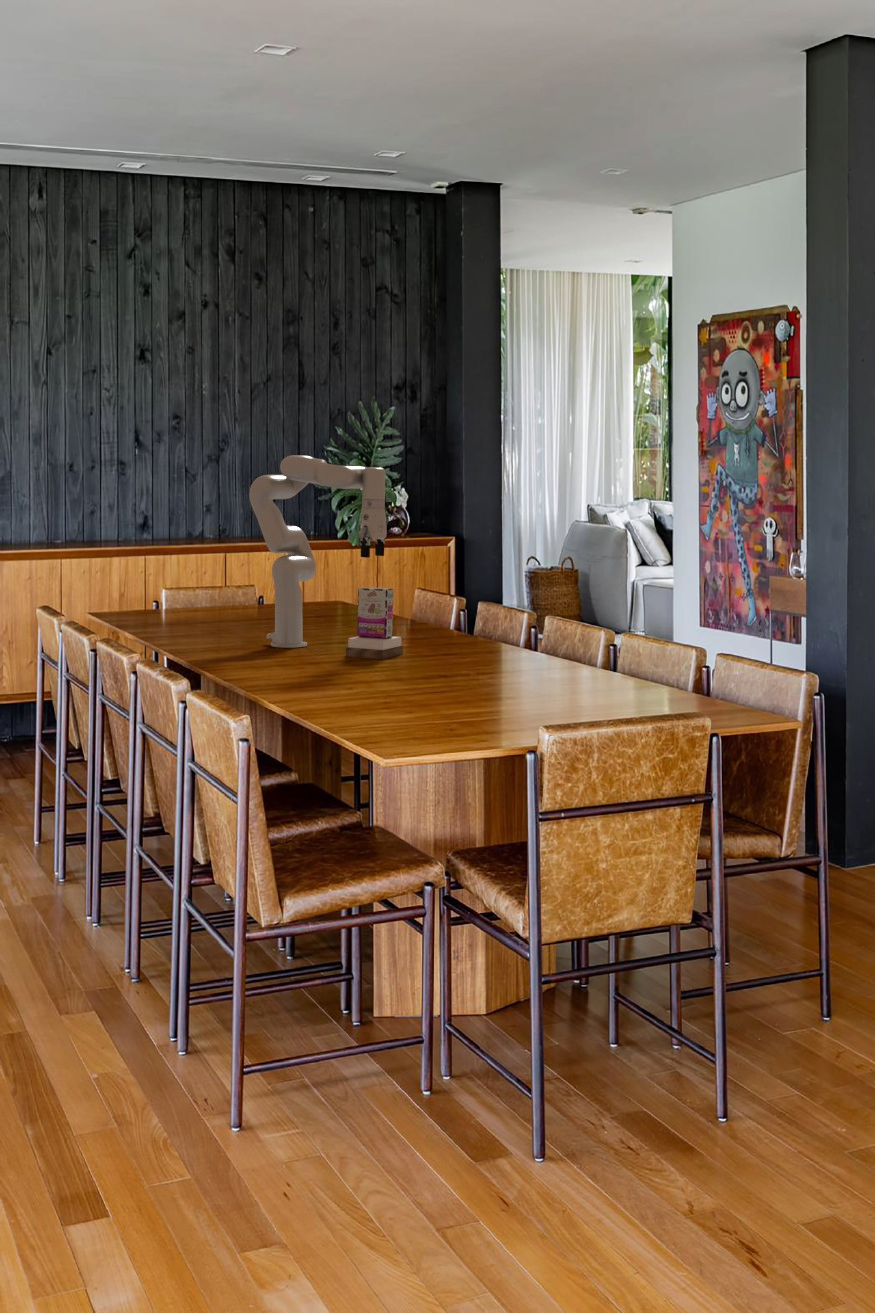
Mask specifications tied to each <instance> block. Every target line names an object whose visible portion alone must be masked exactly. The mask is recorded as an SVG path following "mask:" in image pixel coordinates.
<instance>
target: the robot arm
mask: <svg viewBox="0 0 875 1313" xmlns="http://www.w3.org/2000/svg"><path fill="white" fill-rule="evenodd" d="M279 469H280V472H281V474H264V475H263V474H262V475H261V476H259V477H257V478H256V479H254V481H253V482H252V483H251V485H250V488H249V502H250V505H251V508H252V511H253V512H254V514H255V517H256V519H257V522H258V525H259V527H260V530H261V534H262V536H263V539H264V542H265V543H266V547H267V549H268V550H269V551H270V552H271V553H273V554H285V555H281V556H280V557H277V558H276V559H275V560H274V562H273V563H272V566H271V574H272V575H271V576H272V580H273V586H274V620H275V621H274V632H271V633H267V634H266V637H265V638H266V639H267V640H272V641H271V642H270V646H271V647H273V648H281V649H283V648H284V649H286V648H287V649H292V648H293V649H297V648H304V647H305V648H306V647H307V646H308V642H307V641H303V634H304V633H303V628H304V627H303V592H302V588H301V585H300V582H308V581H310V580H312V579H313V578H314V577H315V575H316V572H317V563H316V560H315V557H314V554H313V551H312V548H311V546H310V543H309V540H308V538H307V536H306V534H305V532H304V530H302V528H300V527H298V526H296V525H287V524H286V522H285V520H284V517H283V514H282V512H281V509H280V508H279V507H278V506H277V504H276V503H275V502H274V500H287V499H291V498H293V497H295V496H296V495H297V494H298V493H300V491H302V490H303V489H304V488H306V486H307V485H308V484H315V485H318V486H324V487H329V488H335V489H342V490H362V492H361V493H362V497H361V498H362V499H361V500H362V501H361V509H362V511H361V512H362V513H361V519H360V520H361V521H360V530H359V531H358V534H357V535H358V537H359V538H358V541H359V545H360V558H364V559H365V558H367V559H369V558H370V557H371V545H370V543H371V540H375V546H374V551H375V552H374V556H376V557H377V556H378V557H384V556H385V544H386V539H387V534H388V530H387V515H386V509H385V508H386V507H385V506H386V505H385V504H386V470H385V468H383V467H374V466H372V467H370V466H369V467H367V466H361V465H338V464H332V463H331V464H330V463H327V461H326V460H324V459H322V458H315V457H312V456H310V455H302V454H301V455H300V454H299V455H297V454H295V455H293V454H291V455H287V456H286V457H284V458H283V459H282V461H281V462H280V466H279ZM286 554H287V555H286Z"/></svg>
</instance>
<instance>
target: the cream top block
mask: <svg viewBox="0 0 875 1313" xmlns="http://www.w3.org/2000/svg"><path fill="white" fill-rule="evenodd" d="M347 639H348V644H347V645H348V646H347V647H350V648H363V649H376V650H385V649H390V648H394V647H399V646H402V636H393V635H392V638H370V637H358V636H354V637H349V638H347Z"/></svg>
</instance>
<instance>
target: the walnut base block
mask: <svg viewBox="0 0 875 1313" xmlns="http://www.w3.org/2000/svg"><path fill="white" fill-rule="evenodd" d="M403 646H404V645H401V646H399V647H394V648H390V649H385V650H376V649H363V648H350V647H348V646H346V647H345V657H351V658H363V659H364V658H365V659H377V660H378V659H379V660H385V659H389V658H393V657H394V658H395V657H397V656H400V655H403V654H404V653H403V652H404V647H403Z"/></svg>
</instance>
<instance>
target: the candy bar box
mask: <svg viewBox="0 0 875 1313" xmlns="http://www.w3.org/2000/svg"><path fill="white" fill-rule="evenodd" d="M357 591H358V593H357V629H356V630H357V632H356V633H357V635H356V637H370V638H392V636H393V631H394V630H393V629H394V628H393V627H394V624H393V623H394V621H393V620H394V619H393V618H394V588H384V587H383V588H382V587H358V589H357Z"/></svg>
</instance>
